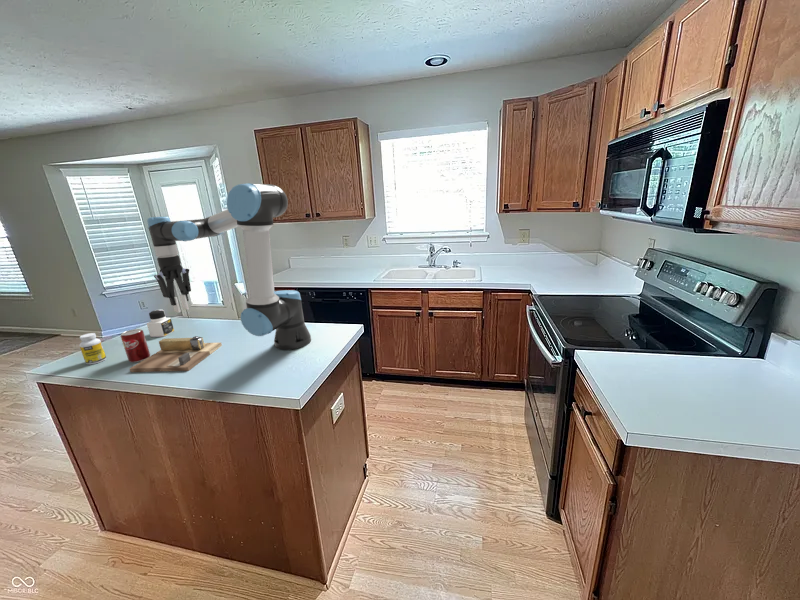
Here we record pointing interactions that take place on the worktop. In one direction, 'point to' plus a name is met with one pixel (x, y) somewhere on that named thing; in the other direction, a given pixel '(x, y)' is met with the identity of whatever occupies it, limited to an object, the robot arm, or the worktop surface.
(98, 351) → the pill bottle
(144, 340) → the soda can
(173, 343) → the swing bar
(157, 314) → the medicine bottle
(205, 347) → the wooden cutting board
